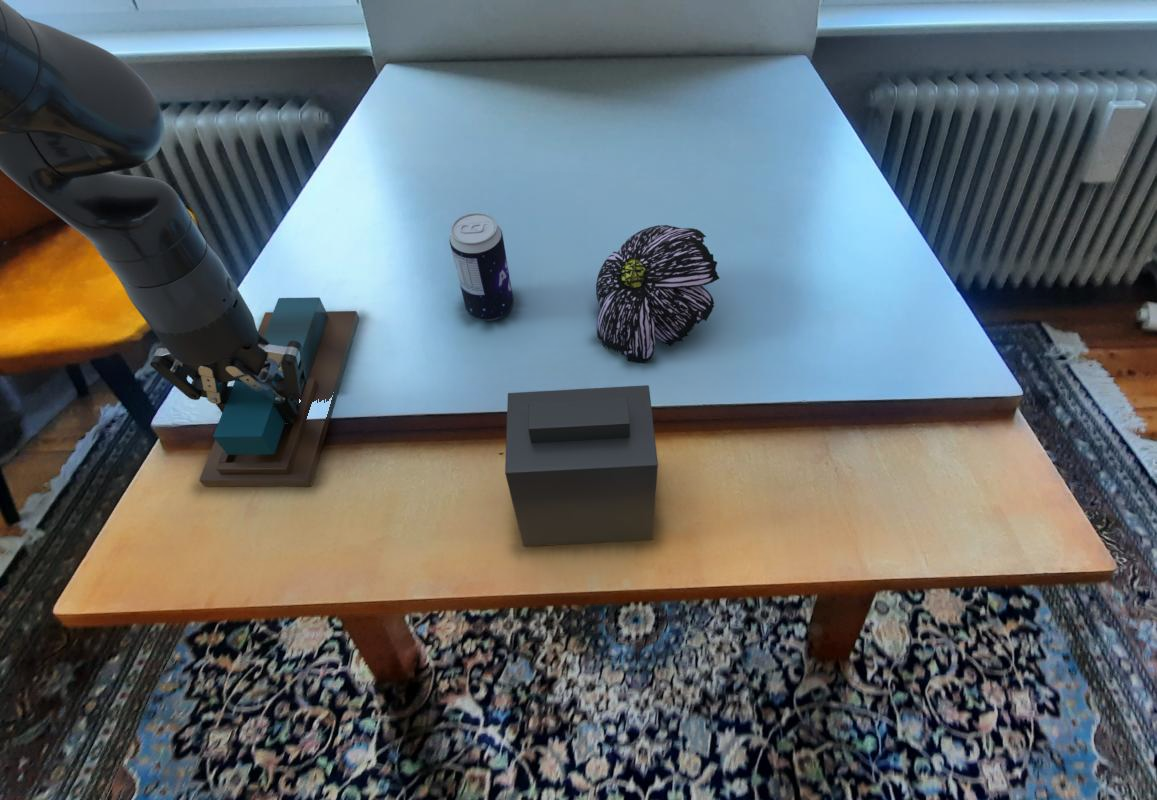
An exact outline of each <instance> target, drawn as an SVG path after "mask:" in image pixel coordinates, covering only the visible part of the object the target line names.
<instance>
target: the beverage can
mask: <svg viewBox="0 0 1157 800" xmlns="http://www.w3.org/2000/svg"><path fill="white" fill-rule="evenodd" d="M448 239H449V241H448V242H449V246H450V249H451V250H450V251H451V253H452V257H453V262H454V266H455V270H456V275H457V278H458V282H459V287H460V291H461V293H462V294H461V295H462V299H463V304H464V307H465V311H466V312H467V313H468V314H469V315H470V316H471V317H473V318H475V319H477V320H482V321H494V320H498V319H500V318H502V317H503V316H504V315H506V314H508V312H509V311H510V310H511V309H512V307H513V304H514V295H513V289H512V284H511V283H512V282H511V277H510V271H509V265H508V257H507V252H506V247H505V240H504V235H503V230H502V229H501V227H500V226H499V225H498V222H497V220H496V219H495V217H493V216H491V215H490V214H487V213H483V212H471V213H466V214H464V215H462V216H460V217H458V218H457V219H456V220H454V222H453V223H452V225H451V228H450V235H449V238H448Z"/></svg>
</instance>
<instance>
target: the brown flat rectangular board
mask: <svg viewBox="0 0 1157 800" xmlns="http://www.w3.org/2000/svg"><path fill="white" fill-rule="evenodd" d="M359 321H360V317H359V314H358V312H357V310H337V311H336V310H334V311H333V310H332V311H330V310H329V311H327V310H326V308H325V305H324V304H323V302H322V299H321V298H320V297H314V296H313V297H278V298H277V301H276V304H275V306H274V309H273V311H269V312H268V311H267V312H265V313H264V314H263V317H262V320H261V322H260V324H259V326H258V329H257V331H258V332H259V333H260V334H261V335H262V336H263V337H265V338H266V339H267V340H268V341H269V342H270V344H271V345H278V346H285V347H287V345H288V342H289V341H297V342H299V343H300V344H301V345H302V352H303V359H304V365H305V372H306V380H305V382H304V385H303V388H302V391H301V396H300V398H299V399H300V400H301V402H300V410H299V413H298V416H297V419H295V421H294V423H288V424H287V423H286V424H284V427H283V430H282V433H281V436H280V439H279V442H278V445H277V448H276V451H275V454H270V455H227V454H226V452H225V451H224V450H223V449H222V447H221V446H220V445H219V444H218V442H217V441H216V440H215V439H214V441H213V444H212V446H211V449H210V451H209V455H208V457H207V459H206V461H205V465H204V467H203V469H202V472H201V474H200V477H199V479H198V480H199V482H200V483H201V484H202V485H203V487H312V485H313V481H314V478H315V474H316V471H317V467H318V463H319V460H320V457H321V453H322V449H323V446H324V442H325V439H326V436H327V433H328V430H329V424H330V422H331V418H332V414H333V411H334V407H335V405H336V401H337V397H338V393H339V390H340V387H341V383H342V380H343V376H344V372H345V369H346V366H347V362H348V358H349V355H350V351H351V347H352V345H353V340H354V337H355V334H356V330H357V327H358V323H359ZM333 392H334V393H333ZM332 395H333V397H332ZM331 397H332V400H331V404H330V407H329V411H328V414H327V417H326V421H323V420H322V421H320V420H319V421H313V420H312V421H307V420H306V419H307V416H308V413H309V410H310V407H311V404H312V402H314V401H316V400H317V403H318V399H319V402H321V401H322V400H324V403H325V399H326V402H327V401H329V399H330V398H331ZM299 399H298V401H299Z"/></svg>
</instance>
